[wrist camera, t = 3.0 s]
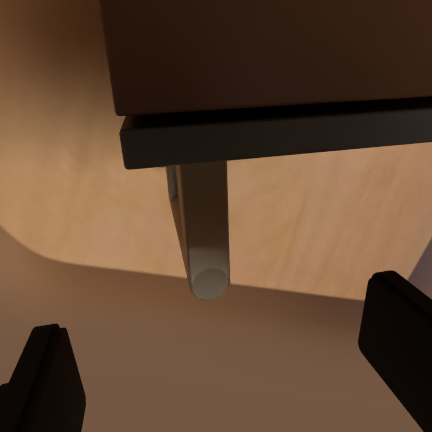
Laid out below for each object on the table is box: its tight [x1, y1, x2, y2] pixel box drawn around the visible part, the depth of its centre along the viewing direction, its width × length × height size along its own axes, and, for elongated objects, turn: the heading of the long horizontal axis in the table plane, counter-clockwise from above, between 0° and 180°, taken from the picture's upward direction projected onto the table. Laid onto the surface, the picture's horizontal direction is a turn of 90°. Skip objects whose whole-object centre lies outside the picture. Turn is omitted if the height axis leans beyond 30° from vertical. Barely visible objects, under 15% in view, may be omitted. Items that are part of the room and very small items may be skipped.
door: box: [119, 96, 432, 300], centre depth 16 cm, size 6×15×16 cm, turn 92°
